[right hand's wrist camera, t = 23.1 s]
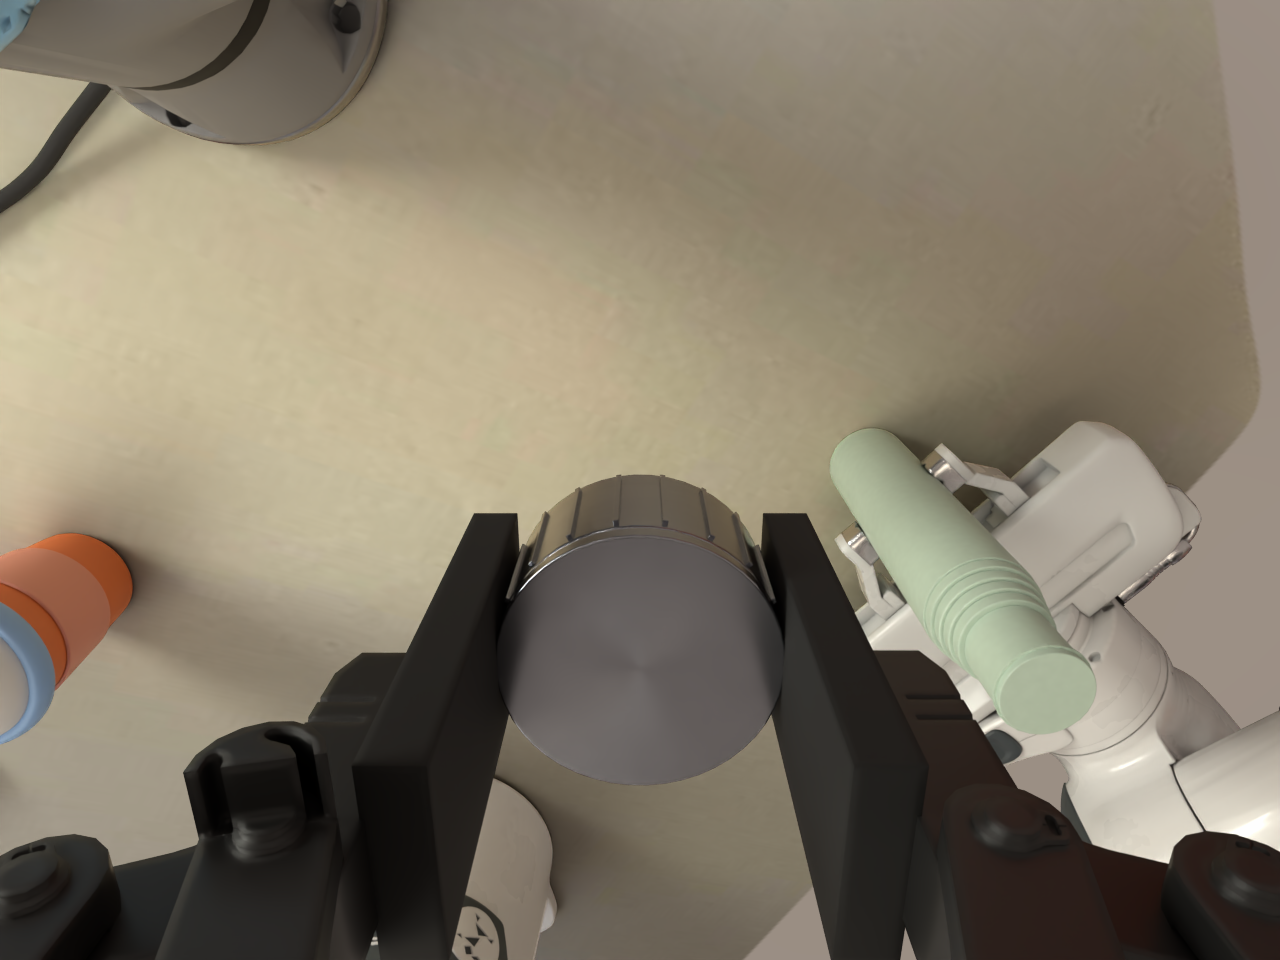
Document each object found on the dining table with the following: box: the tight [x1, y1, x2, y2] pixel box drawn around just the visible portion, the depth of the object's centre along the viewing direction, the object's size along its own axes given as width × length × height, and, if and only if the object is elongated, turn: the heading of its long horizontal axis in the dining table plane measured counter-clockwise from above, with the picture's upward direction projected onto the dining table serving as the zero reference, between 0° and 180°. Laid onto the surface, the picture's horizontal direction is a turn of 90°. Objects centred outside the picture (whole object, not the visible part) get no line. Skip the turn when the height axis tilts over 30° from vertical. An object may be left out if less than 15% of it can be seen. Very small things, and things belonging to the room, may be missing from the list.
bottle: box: [830, 428, 1097, 734], centre depth 38 cm, size 4×4×23 cm
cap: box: [496, 475, 785, 785], centre depth 13 cm, size 4×4×3 cm
